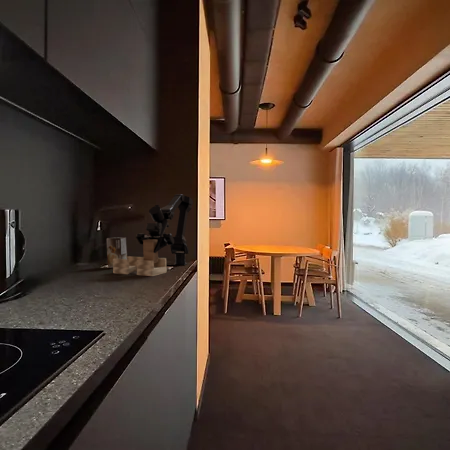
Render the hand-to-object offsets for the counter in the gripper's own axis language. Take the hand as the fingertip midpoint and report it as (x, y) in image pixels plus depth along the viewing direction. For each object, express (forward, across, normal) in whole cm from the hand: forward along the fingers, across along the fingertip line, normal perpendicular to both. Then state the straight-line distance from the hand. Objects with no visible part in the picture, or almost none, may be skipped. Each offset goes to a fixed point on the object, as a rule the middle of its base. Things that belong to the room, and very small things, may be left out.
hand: (149, 252), depth 189 cm
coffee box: (-4, -30, +20) cm, 36 cm away
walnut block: (+3, 0, +4) cm, 5 cm away
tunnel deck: (+6, -7, +9) cm, 13 cm away
